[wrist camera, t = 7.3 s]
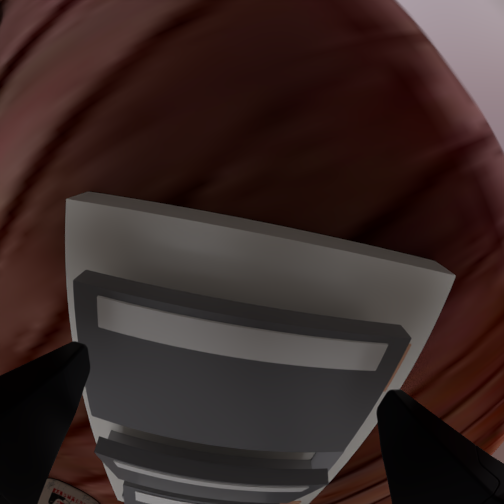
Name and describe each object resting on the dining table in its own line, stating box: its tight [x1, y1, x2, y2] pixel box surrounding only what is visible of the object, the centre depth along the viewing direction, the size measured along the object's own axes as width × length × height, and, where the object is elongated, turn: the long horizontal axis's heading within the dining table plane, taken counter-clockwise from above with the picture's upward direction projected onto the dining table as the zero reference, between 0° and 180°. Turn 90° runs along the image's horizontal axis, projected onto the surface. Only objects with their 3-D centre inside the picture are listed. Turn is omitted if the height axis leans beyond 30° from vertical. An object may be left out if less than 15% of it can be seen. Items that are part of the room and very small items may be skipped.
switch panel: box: [65, 192, 456, 504], centre depth 16 cm, size 18×29×3 cm, turn 168°
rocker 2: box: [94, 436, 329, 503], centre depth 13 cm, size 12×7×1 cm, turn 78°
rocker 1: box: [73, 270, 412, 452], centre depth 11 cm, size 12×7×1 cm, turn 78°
